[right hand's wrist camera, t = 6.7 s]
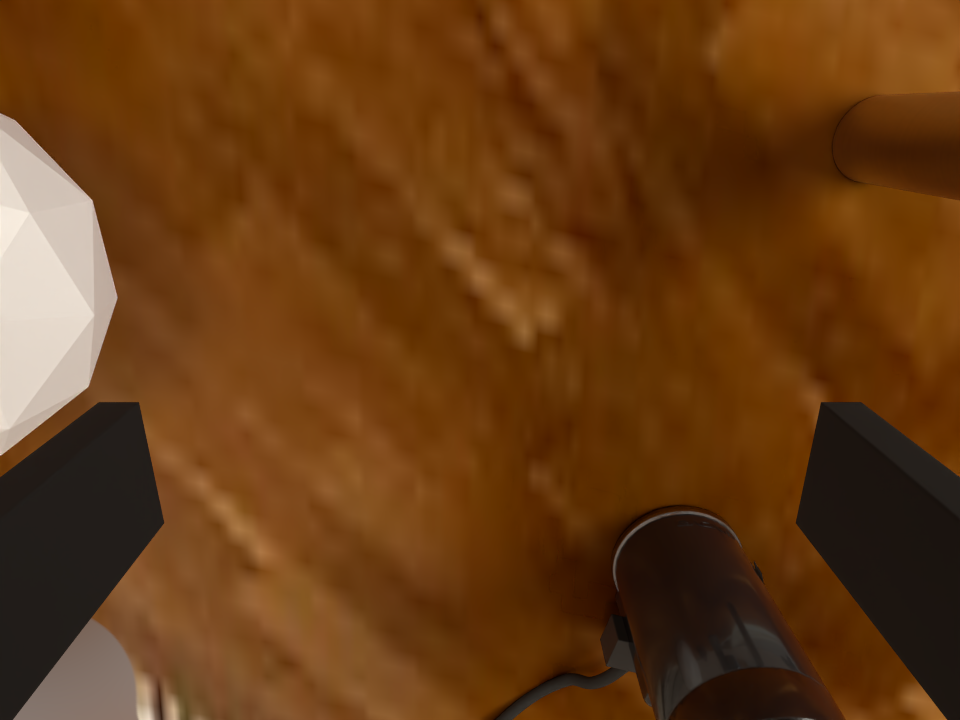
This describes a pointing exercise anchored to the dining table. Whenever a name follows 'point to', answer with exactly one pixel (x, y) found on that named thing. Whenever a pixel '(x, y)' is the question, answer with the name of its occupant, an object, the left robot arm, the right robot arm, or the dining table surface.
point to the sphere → (46, 286)
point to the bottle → (903, 143)
